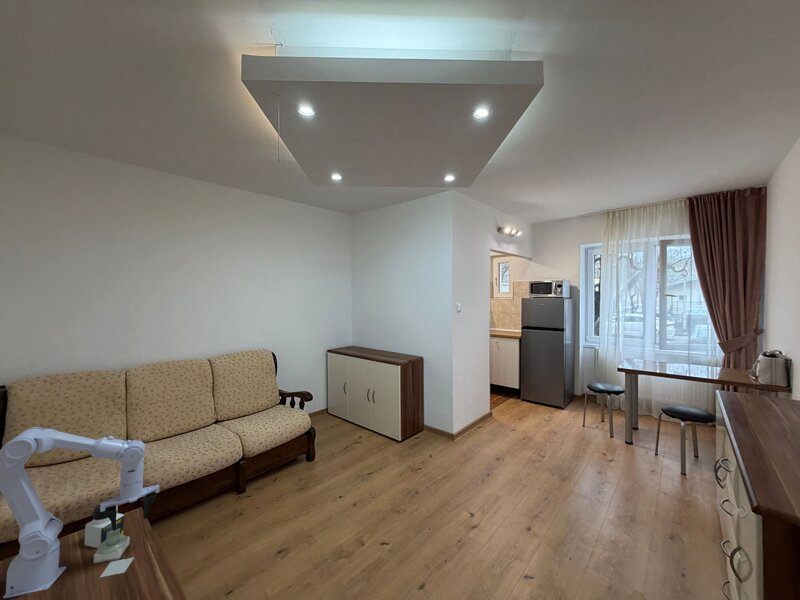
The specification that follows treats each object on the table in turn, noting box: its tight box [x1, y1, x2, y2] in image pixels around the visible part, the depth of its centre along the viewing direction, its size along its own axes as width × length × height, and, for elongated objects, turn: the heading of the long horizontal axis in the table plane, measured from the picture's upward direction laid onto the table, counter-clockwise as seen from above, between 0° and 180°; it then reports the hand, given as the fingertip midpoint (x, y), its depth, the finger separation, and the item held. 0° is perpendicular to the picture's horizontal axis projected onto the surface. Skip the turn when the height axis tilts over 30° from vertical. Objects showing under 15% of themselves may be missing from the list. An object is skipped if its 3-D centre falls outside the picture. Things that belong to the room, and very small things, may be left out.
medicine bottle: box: [84, 504, 125, 549], centre depth 108 cm, size 7×7×12 cm
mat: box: [99, 556, 135, 578], centre depth 96 cm, size 6×6×1 cm
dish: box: [93, 536, 130, 564], centre depth 101 cm, size 6×6×3 cm
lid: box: [97, 529, 128, 554], centre depth 101 cm, size 7×7×4 cm
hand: (130, 523), depth 102 cm, fingers open, 7 cm apart
